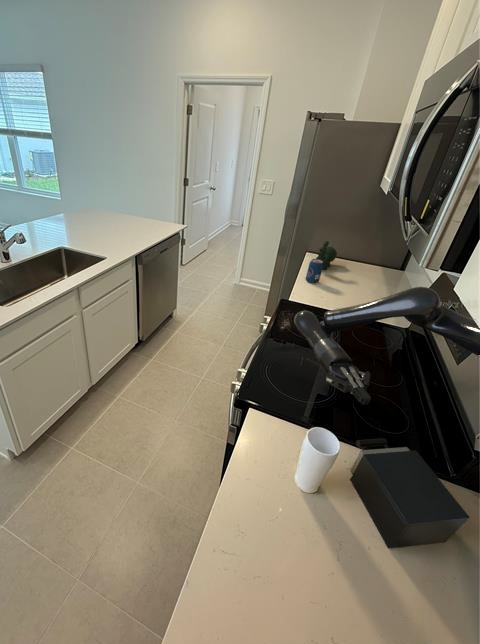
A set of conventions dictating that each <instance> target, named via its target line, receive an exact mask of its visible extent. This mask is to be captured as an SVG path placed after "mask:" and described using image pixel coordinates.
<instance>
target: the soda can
mask: <svg viewBox="0 0 480 644" xmlns="http://www.w3.org/2000/svg"><path fill="white" fill-rule="evenodd" d="M322 269H323V261H322V260H319V259H316V258H313V259H311V260H310V262H309V263H308V268H307V271H306V276H305V281H306V283H308V284H311V285H316V284H317V283H319V282H320V279H321V275H322V272H323V270H322Z"/></svg>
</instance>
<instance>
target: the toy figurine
mask: <svg viewBox="0 0 480 644" xmlns="http://www.w3.org/2000/svg"><path fill="white" fill-rule="evenodd" d="M329 244H330V242H329V240H325V241H324V242H323V243H322V246H321V247H320V248H318V252H317V257H315V259H319V260H322V261H323V269H322V271H326V270H328V268H330V267H331V263H332V262H334V261H335V259H336V258H337V255H338V253H337V250H336V248H335V247H333V246H329Z"/></svg>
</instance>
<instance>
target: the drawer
mask: <svg viewBox="0 0 480 644" xmlns="http://www.w3.org/2000/svg"><path fill="white" fill-rule="evenodd" d="M355 445H356V447H358V448H360V451H359V453H358V455H357V457H356V458H355V461H354V462H353V465H352V466H351V468H350V470H349V471H350V474H351V476H352V475H353V473H354V471H355V469H356V467H357V466H358V464H359V462H360V460H361V458H362V457H363V454H374V453H388V452H401V451H411V450H410V448H409V447H408V446H401V447H390V446H389V445H388V440H387V439H386V438H380V437H379V438H367V439H356V441H355ZM368 447H371V448H372V447H373V448H374V447H384V448H374V449H366V448H368Z"/></svg>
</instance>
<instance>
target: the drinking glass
mask: <svg viewBox="0 0 480 644" xmlns="http://www.w3.org/2000/svg"><path fill="white" fill-rule="evenodd" d="M340 451H341V443H340V441H339V439H338V437H337V436H336V435H335V434H334V433H333V432H332V431H330V430H328V429H326V428H324V427H319V426H316V427H315V426H314V427H311V428H310V429H308V430H307V432H306V434H305V436H304V439H303V441H302V444H301V448H300V453H299V456H298V457H299V458H298V461H297V466H296V471H295V473H294V481H295V484H296V486H297V487H298V489H300V491H303V492H304V493H307V494H313V493H315V492H317V491H318V490H319V488H320V486H321V484H322V482H323V481H324V479H325V478H326V476H327V475H328V473H329V472H330V471H331V469H332V468H333V466H334V464H335V462H336V461H337V458H338V456H339V454H340Z"/></svg>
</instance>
